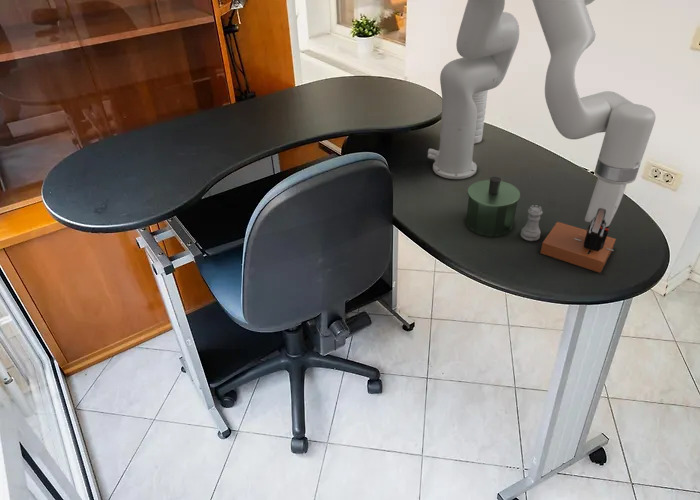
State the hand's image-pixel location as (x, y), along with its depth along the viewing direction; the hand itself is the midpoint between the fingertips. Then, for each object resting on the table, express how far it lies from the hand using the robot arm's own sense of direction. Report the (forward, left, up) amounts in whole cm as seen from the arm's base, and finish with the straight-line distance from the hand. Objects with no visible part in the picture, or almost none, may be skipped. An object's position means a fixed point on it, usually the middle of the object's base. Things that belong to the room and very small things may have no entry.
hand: (594, 242), depth 110 cm
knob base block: (-3, 0, -4) cm, 5 cm away
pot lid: (-24, 0, +5) cm, 24 cm away
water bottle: (-48, +43, -4) cm, 65 cm away
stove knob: (0, 0, -1) cm, 1 cm away
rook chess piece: (-14, 0, -4) cm, 14 cm away
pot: (-24, 0, -4) cm, 24 cm away
